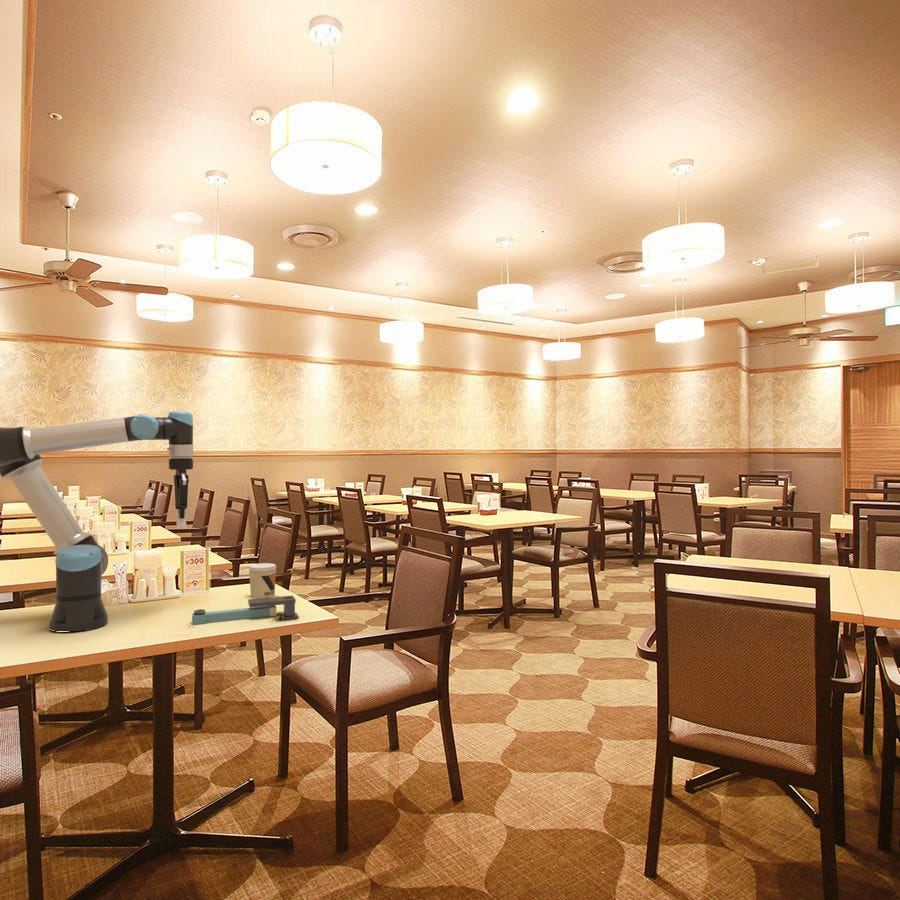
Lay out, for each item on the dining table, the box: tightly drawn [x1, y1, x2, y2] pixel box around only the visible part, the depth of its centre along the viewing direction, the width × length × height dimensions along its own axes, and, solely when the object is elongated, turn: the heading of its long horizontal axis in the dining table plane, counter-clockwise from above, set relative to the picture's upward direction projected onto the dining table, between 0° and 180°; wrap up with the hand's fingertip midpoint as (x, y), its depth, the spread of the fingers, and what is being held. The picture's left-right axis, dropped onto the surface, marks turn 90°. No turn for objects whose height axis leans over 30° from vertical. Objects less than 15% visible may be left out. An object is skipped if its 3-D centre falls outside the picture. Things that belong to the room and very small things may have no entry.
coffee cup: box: [248, 562, 277, 599], centre depth 225 cm, size 9×9×12 cm
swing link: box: [191, 605, 278, 626], centre depth 194 cm, size 24×4×3 cm, turn 114°
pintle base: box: [193, 608, 206, 615], centre depth 190 cm, size 10×10×5 cm
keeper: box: [247, 595, 300, 621], centre depth 198 cm, size 14×6×6 cm, turn 113°
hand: (181, 528), depth 214 cm, fingers closed
